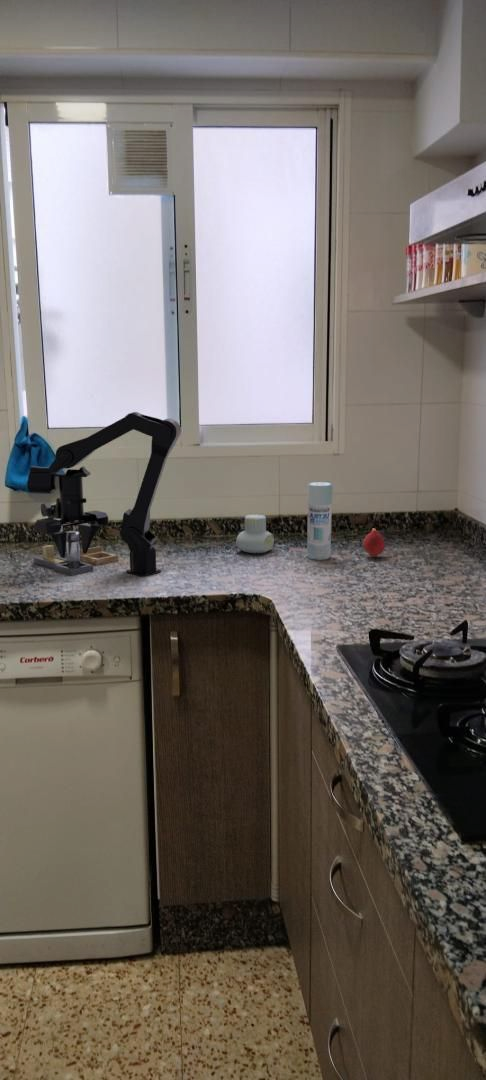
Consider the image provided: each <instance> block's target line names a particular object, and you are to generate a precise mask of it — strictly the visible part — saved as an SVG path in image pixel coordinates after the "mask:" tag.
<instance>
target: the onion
mask: <svg viewBox="0 0 486 1080" xmlns="http://www.w3.org/2000/svg"><path fill="white" fill-rule="evenodd" d="M362 543H363V544H362V545H363V546H362V547H363V549H364V551H365V552H366V553H367V554H368V555H369V556H370V557H371V558H376V557H378V556H379V555H380V554H381V553H384V551H385V548H386V541H385V538H384V536H383V535H382V534H381V533H380V532H378V531H377V530H376V528H371V532H369V533H368V534H367V535H366V536H365V537H364V540H363V542H362Z"/></svg>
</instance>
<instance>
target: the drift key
mask: <svg viewBox="0 0 486 1080" xmlns="http://www.w3.org/2000/svg"><path fill="white" fill-rule="evenodd" d="M54 556H55V545H53V544H47V545H43V546H42V559H46V560H49V561H53V562H57V563H60V564H63V563H66V561H63V560H60V559H56V558H54Z"/></svg>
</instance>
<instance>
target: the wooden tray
mask: <svg viewBox="0 0 486 1080" xmlns="http://www.w3.org/2000/svg"><path fill="white" fill-rule="evenodd" d="M102 548H103V547H102V546H100V545H98V546H97V545H96V546H93V547H89V548H88V551H87V553H83V551H82V549H80V554H81V562H84V563H88V564H91V565H93V566H99V565H100V566H101V565H104V564H105V565H106V564H109V563H114V562H119V555H118V554H115V553H110V552H106V551H103V550H102Z"/></svg>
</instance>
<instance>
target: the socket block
mask: <svg viewBox="0 0 486 1080" xmlns="http://www.w3.org/2000/svg"><path fill="white" fill-rule="evenodd" d="M54 558H56V559H60V560H63V561H66V563H63V564H60V563H57V562H53V561H49V560H46V559H43V557H42V558H41V557H38V556H34V557H33V564H35V565H38V566H43V567H46V568H50V569H53V570H55V571H56V572H58V573H62V574H64V575H68V576H76V575H80V574H84V573H89V572H93V571H94V564H90V563H86V562H83V561H81V566H80V567H76V568H69V567H67V558H65V557H64V558H62V557H61V556H58V555H57V556H56V555H54Z"/></svg>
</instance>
